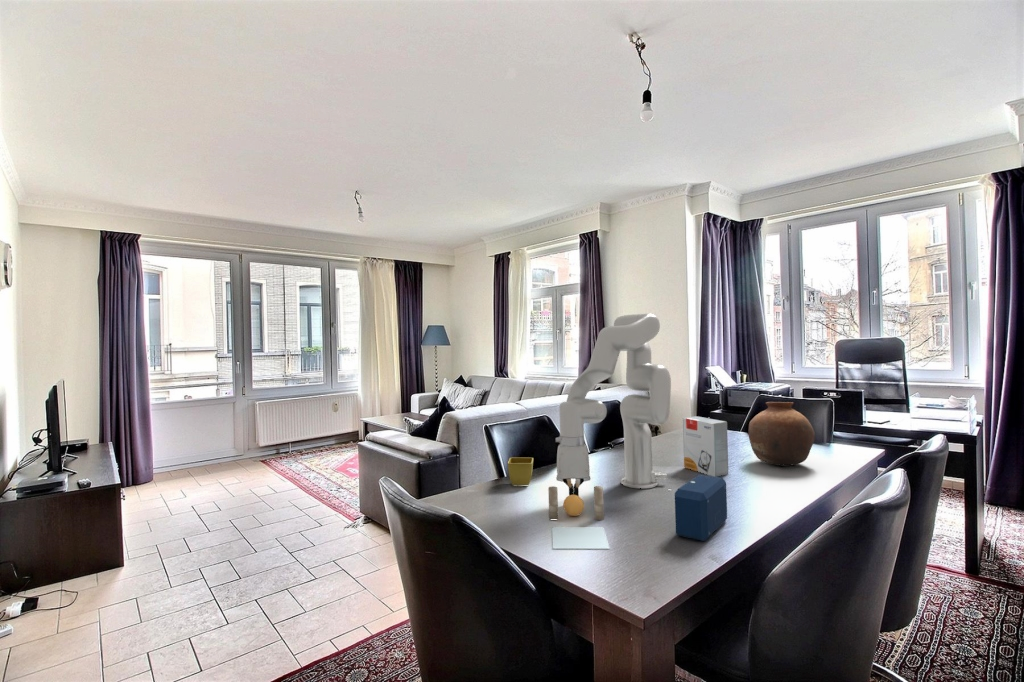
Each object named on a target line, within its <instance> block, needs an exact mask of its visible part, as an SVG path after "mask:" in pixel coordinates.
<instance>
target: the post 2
mask: <svg viewBox="0 0 1024 682" xmlns="http://www.w3.org/2000/svg"><path fill="white" fill-rule="evenodd" d="M593 500H594V501H593V502H594V503H593V504H594V507H593V508H594V509H593V510H594V520H596V521H603V520H604V519H605V516H604V515H605V514H604V512H605V509H604V487H603V486H601V485H600V486H599V485H596V486H593Z"/></svg>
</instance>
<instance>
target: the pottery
mask: <svg viewBox="0 0 1024 682" xmlns="http://www.w3.org/2000/svg"><path fill="white" fill-rule="evenodd" d="M765 404H766V406H767V408H766V409H764V410H762V411H760V412H759V413H758V414H756V415H755V416H754V417H753V418H752V419H751V420H750V421H749V424H748V439H749V442H750V446H751V450H752V452H753V453H754V455H755V457H756V458H757V459H758V460H760V461H762V462H764V463H766V464H770V465H775V466H783V467H784V466H795V465H800V464H801V463H804V462H805V461H806V460H807V458H808V457H809V455H810V453H811V452H810V451H811V450H812V447H813V445H814V442H815V437H816V434H815V430H814V428H813V426H812V424H811V422H810V420H809V419H808V418H807V417H806V416H805V415H803V414H802V413H801V412H799V411H797V410H796V409H794V408H792V406H793V405H794V402H793V401H792V402H791V401H790V402H789V401H787V402H785V401H783V402H782V401H767V402H765Z"/></svg>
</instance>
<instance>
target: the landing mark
mask: <svg viewBox="0 0 1024 682" xmlns="http://www.w3.org/2000/svg"><path fill="white" fill-rule="evenodd" d="M551 532H552V533H551V534H552V550H611V549H610V544H609V542H608V537H607V535H606V531H605V528H604V526H562V527H561V526H552V531H551Z"/></svg>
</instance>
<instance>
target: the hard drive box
mask: <svg viewBox="0 0 1024 682" xmlns="http://www.w3.org/2000/svg"><path fill="white" fill-rule="evenodd" d="M682 427H683V428H682V429H683V430H682V433H683V434H682V435H683V436H682V437H683V441H682V442H683V466H684V467H685V469H687V470H690V469H691V471H693V472H694V471H695V472H697V471H698V472H697V473H700V472H701V474H703V473H704V474H703V475H706V474H707V469H708V476H712V477H713V476H714V477H716V476H717V477H721V475H722V476H726V474H727V475H729V449H728V448H729V447H728V446H729V445H728V440H729V439H728V422H727V421H726V420H719V419H713V418H708V417H702V416H699V415H698V416H697V415H695V416H686V417H683V418H682ZM706 451H707V459H706ZM684 467H683V468H684Z"/></svg>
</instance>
